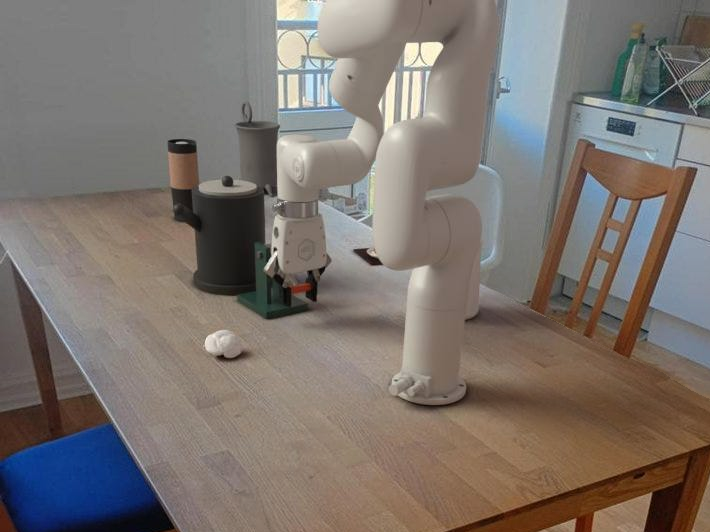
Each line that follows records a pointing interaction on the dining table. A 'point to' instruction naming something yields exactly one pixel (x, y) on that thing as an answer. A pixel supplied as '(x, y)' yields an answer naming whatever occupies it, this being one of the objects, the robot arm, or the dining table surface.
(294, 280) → the switch lever
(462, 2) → the robot arm
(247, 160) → the grey canister
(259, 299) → the switch bracket
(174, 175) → the travel mug
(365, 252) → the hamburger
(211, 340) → the dumpling
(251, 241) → the kettle
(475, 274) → the coffeepot
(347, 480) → the dining table surface
